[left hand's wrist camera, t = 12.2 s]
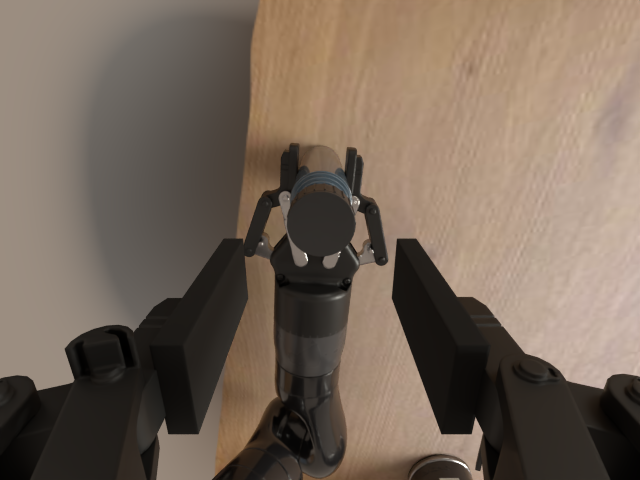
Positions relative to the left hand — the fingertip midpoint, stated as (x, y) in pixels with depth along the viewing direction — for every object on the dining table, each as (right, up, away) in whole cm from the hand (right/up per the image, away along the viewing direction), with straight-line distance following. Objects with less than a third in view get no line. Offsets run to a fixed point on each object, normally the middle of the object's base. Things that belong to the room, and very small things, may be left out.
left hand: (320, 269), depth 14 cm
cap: (0, +2, +5) cm, 6 cm away
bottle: (0, +9, +22) cm, 24 cm away
